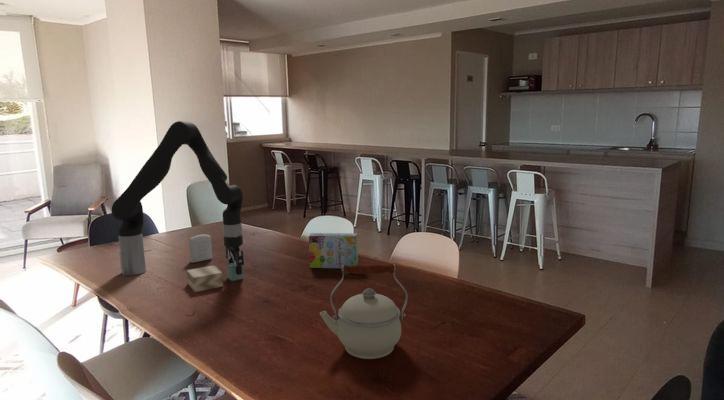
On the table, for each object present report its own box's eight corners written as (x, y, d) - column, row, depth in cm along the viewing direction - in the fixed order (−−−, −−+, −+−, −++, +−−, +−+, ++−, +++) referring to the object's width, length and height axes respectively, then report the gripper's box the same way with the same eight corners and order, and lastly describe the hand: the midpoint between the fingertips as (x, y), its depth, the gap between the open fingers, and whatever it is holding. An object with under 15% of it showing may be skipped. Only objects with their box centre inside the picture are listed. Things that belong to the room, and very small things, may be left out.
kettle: (403, 331, 142) (403, 254, 138) (411, 362, 124) (412, 274, 119) (322, 333, 141) (320, 255, 137) (318, 365, 123) (316, 276, 119)
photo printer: (209, 257, 222) (208, 232, 220) (214, 258, 219) (212, 233, 217) (189, 261, 215) (187, 236, 213) (193, 263, 212) (191, 237, 210)
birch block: (194, 292, 177) (193, 277, 176) (188, 284, 186) (187, 270, 185) (223, 286, 183) (222, 272, 182) (215, 279, 192) (214, 265, 191)
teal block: (231, 281, 188) (230, 267, 187) (227, 277, 192) (226, 264, 191) (243, 278, 191) (242, 264, 190) (239, 275, 195) (238, 261, 194)
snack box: (358, 265, 207) (357, 232, 204) (356, 269, 202) (356, 236, 199) (312, 264, 209) (311, 232, 207) (309, 268, 204) (308, 235, 201)
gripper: (218, 232, 192) (221, 269, 195) (230, 239, 181) (232, 278, 184) (235, 229, 196) (238, 265, 199) (248, 235, 185) (250, 274, 188)
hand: (235, 271), depth 191 cm, fingers open, 8 cm apart
